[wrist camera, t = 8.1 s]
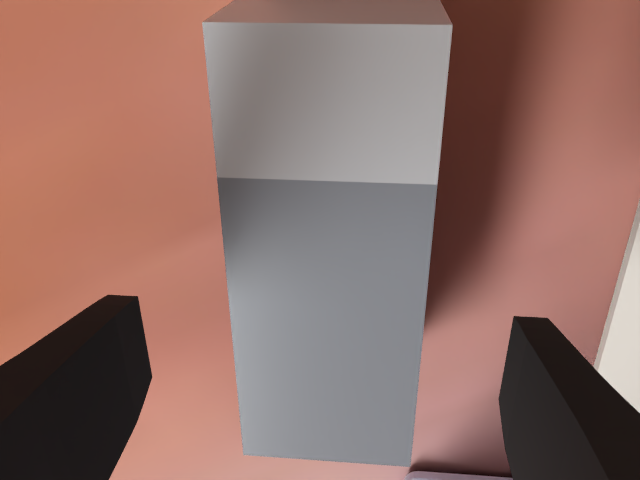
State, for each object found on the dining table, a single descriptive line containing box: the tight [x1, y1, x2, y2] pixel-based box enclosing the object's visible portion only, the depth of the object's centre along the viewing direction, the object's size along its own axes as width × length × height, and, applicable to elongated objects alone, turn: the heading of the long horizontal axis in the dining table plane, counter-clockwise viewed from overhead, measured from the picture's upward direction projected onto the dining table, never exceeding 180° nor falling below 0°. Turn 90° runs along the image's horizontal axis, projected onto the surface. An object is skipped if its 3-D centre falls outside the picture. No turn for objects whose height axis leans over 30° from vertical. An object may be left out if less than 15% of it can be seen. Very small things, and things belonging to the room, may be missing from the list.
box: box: [202, 0, 453, 467], centre depth 16 cm, size 4×11×5 cm, turn 0°
